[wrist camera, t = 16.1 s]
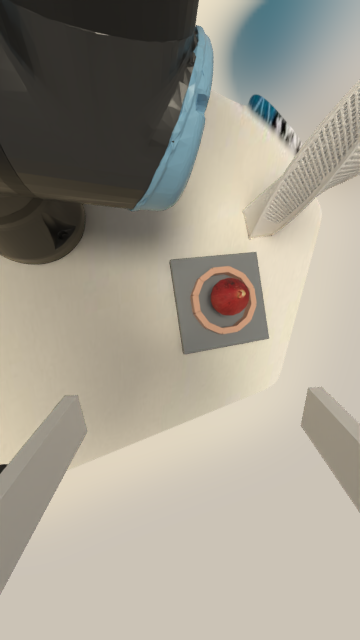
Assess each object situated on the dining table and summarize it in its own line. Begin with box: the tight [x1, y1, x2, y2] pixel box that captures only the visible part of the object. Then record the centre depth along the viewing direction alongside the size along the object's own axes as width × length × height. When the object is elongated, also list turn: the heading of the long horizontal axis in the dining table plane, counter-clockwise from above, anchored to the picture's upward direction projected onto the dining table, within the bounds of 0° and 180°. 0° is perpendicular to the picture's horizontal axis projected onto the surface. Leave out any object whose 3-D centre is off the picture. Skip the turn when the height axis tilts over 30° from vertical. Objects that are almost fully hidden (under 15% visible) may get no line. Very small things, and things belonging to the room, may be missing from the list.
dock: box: [170, 252, 269, 354], centre depth 34 cm, size 16×16×3 cm
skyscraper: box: [242, 80, 360, 240], centre depth 24 cm, size 8×8×28 cm
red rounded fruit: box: [211, 278, 250, 316], centre depth 31 cm, size 6×6×8 cm
